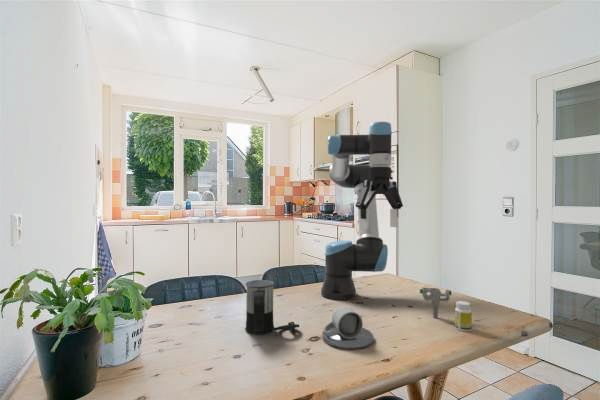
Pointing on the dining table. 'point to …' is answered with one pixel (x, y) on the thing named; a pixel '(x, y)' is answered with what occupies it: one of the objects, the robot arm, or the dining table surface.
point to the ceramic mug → (344, 323)
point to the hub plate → (349, 340)
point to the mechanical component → (435, 298)
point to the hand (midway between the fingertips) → (379, 227)
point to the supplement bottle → (463, 316)
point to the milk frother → (261, 308)
